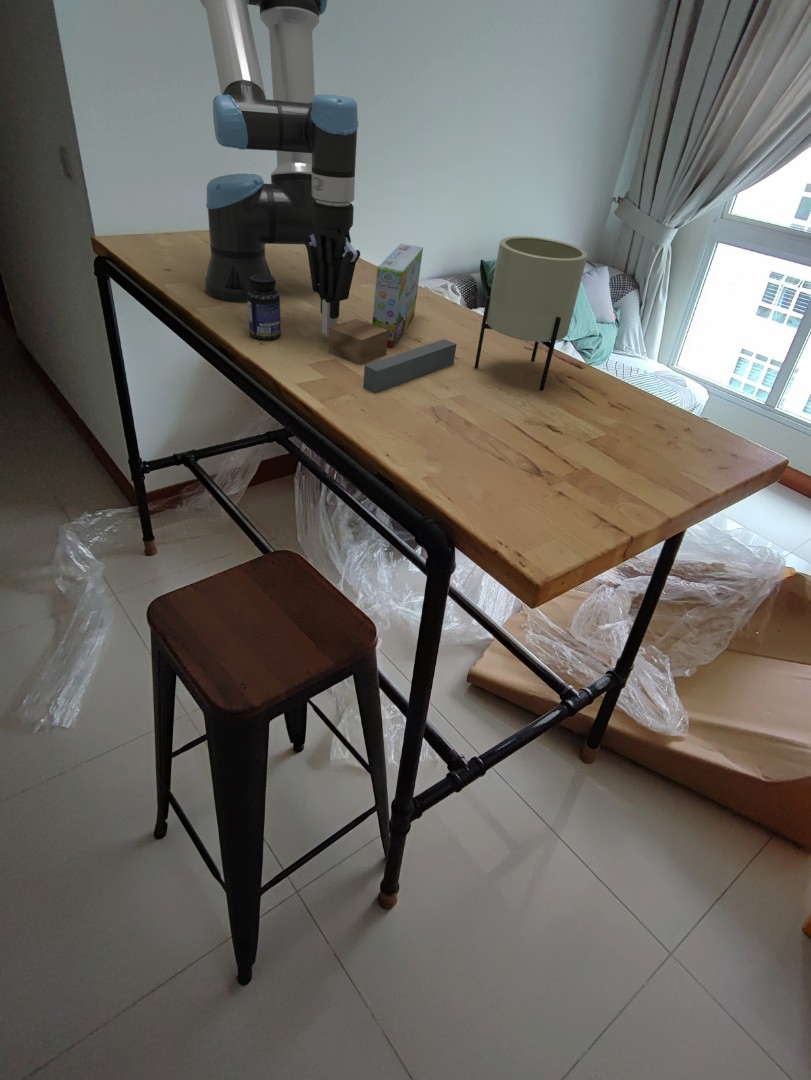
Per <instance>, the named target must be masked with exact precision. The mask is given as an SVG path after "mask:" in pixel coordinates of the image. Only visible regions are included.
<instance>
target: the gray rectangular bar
mask: <svg viewBox="0 0 811 1080" xmlns="http://www.w3.org/2000/svg"><path fill="white" fill-rule="evenodd" d="M456 349H457V343H455V342H453V341H450V340H448V339H446V338H443V339H441V340H437V341H434V342H432V343H431V342H430V343H428V344H425V345H421V346H419V347H416V348H413V349H409V350H406V351H402V352H400V353H398V354H395V355H391V356H388V357H385V358H383V359H380V360H376V361H373V362H369V363H367V364H364V369H363V384H362V385H363V388H365V389H366V390H368V391H370V392H373V393H378V392H382V391H384V390H387V389H390V388H392V387H395V386H397V385H401V384H403V383H406V382H409V381H411V380H414V379H417V378H419V377H422V376H424V375H427V374H429V373H432V372H434V371H435V372H436V371H438V370H441V369H443V368H446V367H448V366H452V365H454V364H455V357H456Z"/></svg>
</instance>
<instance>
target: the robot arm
mask: <svg viewBox="0 0 811 1080" xmlns="http://www.w3.org/2000/svg"><path fill="white" fill-rule="evenodd" d="M199 2H200V3H201V5H202V7H204V9H205V12H206V16H207V22H208V28H209V35H210V39H211V44H212V51H213V57H214V61H215V66H216V73H217V78H218V83H219V84H218V85H219V90H220V95H219V94H218V95H216V96H214V97H213V100H212V116H213V118H212V119H213V127H214V135H215V140H216V142H217V143H218V144H219V145H220V146H222V147H224V148H232V149H238V150H242V151H244V150H250V151H251V150H254V151H255V150H256V151H275V152H276V161H277V162H276V163H277V164H276V167H275V169H274V170H273V171H272V172H271V173H270V180H271V182H270V183H265V182H264V180H263V177H262V176H261V175H259V174H255V173H234V174H232V173H231V174H225V175H221V176H217V177H214V178H212V179H211V180H209V182H208V183H207V185H206V203H205V206H206V209H207V215H208V216H207V217H208V219H207V220H208V230H209V231H208V232H209V245H210V258H209V263H208V267H207V271H206V272H207V273H206V277H205V280H204V282H205V283H204V284H205V292H206V293H207V294H208V295H209V296H211V297H212V298H215V299H219V300H222V301H226V302H227V301H228V302H233V303H234V302H236V303H248V300H247V293H248V291H249V290H250V289H252V286H251V284H250V277H251V276H253V275H270V276H272V273H271V270H270V268H269V265H268V262H267V259H266V247H265V246H266V245H267V244H268V245H269V244H272V245H274V244H275V245H303V246H304V245H305V248H306V250H307V256H308V257H307V258H308V265H309V271H310V272H309V273H310V278H311V279H310V280H311V286H312V292H313V293H317V294H318V297H319V298H320V314H321V334H323V335H325V336H329V328H330V327H333V326H336V325H338V318H339V317H340V305H341V304H340V303H341V301H346V300H348V299H349V295H350V292H351V291H350V290H351V288H352V282H353V278H354V273H355V270H356V269H355V268H356V264H357V262H358V260H359V259H360V257H361V251H360V250H359V249H355V248H354V247H353V246H352V245H351V243H352V239H351V234H350V229H351V228H352V227H353V225H354V210H355V208H354V206H353V204H352V202H354V201H355V189H356V188H355V185H356V181H355V180H356V162H357V161H356V159H357V158H356V157H357V141H358V139H357V137H358V128H359V120H358V117H359V116H358V103H357V101H356V100H355V99H354V98H353V97H349V96H348V97H347V96H343V95H336V94H326V93H325V94H323V93H320V94H316V93H315V92H316V91H315V90H316V89H315V73H314V72H315V69H314V49H313V48H314V47H313V46H314V43H313V31H314V30H315V29H316V27H317V26H318V25H319V24H320V16H321V15H322V14H324V13H325V12H326V9H327V7H328V0H199ZM248 5H251V6H256V7H259V15H260V20H261V22H262V23H263V24H264V26H265V27H267V29H268V35H269V49H270V50H269V51H270V68H271V70H270V71H271V83H272V99H269V98H266V97H267V96H266V92H265V91H266V90H265V87H264V83H263V77H262V73H261V65H260V62H259V56H258V52H257V47H256V43H255V37H254V32H253V28H252V22H251V21H252V20H251V17H250V12H249V8H248V7H249V6H248Z"/></svg>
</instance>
